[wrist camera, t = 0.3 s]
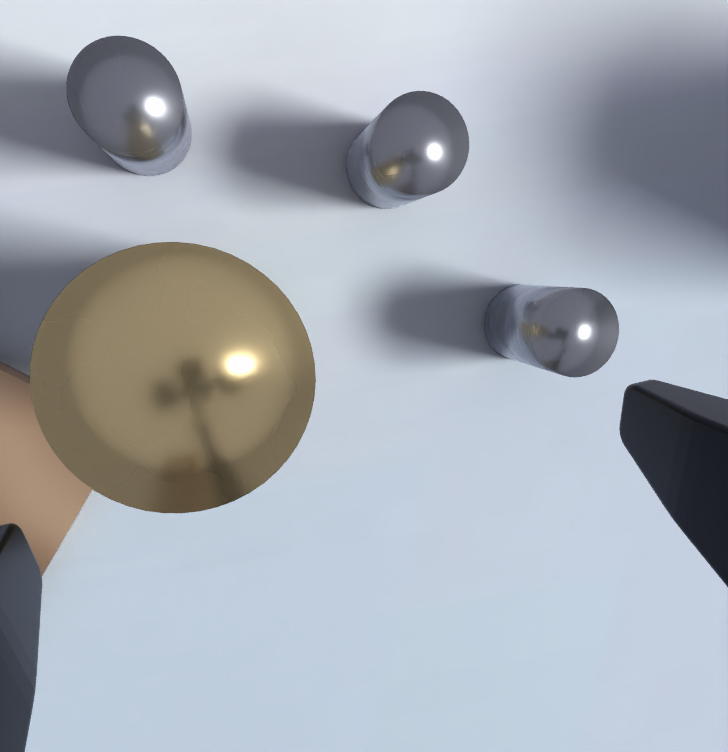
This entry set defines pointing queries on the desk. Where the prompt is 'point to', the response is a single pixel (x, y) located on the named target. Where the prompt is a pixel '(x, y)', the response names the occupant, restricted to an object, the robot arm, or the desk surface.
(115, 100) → the spacer posts
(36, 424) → the pad
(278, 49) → the desk surface
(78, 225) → the desk surface
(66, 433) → the gold metal cylinder
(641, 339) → the desk surface
